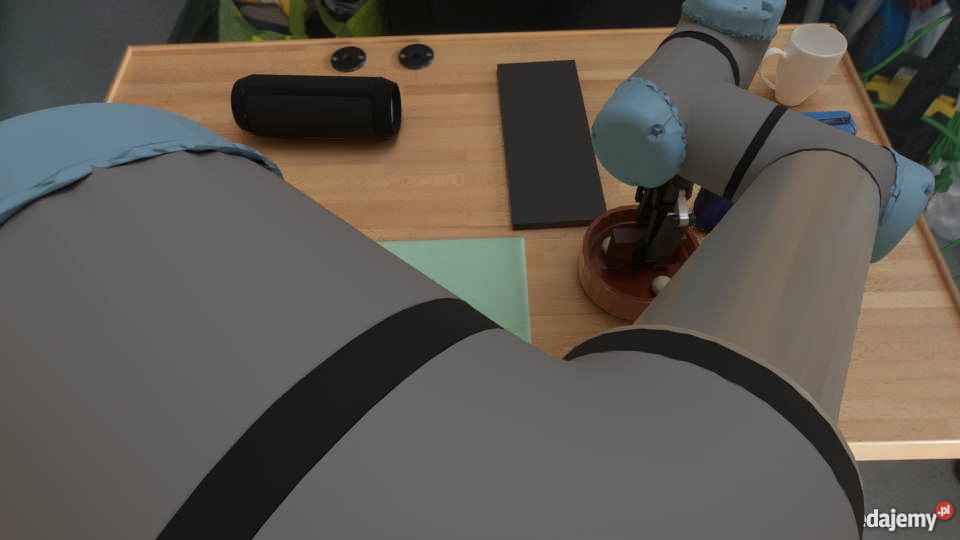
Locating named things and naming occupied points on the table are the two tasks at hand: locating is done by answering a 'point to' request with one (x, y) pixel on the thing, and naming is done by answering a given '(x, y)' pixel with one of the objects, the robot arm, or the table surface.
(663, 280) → the bead
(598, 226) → the bowl
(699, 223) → the blue rectangular block
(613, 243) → the dark brown brick
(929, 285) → the table surface
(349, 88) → the portable speaker
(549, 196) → the board
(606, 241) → the bead
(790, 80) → the mug
